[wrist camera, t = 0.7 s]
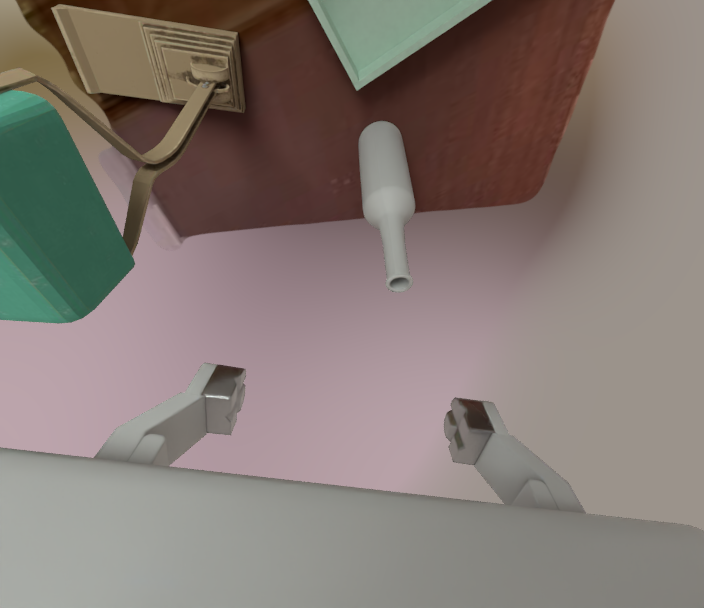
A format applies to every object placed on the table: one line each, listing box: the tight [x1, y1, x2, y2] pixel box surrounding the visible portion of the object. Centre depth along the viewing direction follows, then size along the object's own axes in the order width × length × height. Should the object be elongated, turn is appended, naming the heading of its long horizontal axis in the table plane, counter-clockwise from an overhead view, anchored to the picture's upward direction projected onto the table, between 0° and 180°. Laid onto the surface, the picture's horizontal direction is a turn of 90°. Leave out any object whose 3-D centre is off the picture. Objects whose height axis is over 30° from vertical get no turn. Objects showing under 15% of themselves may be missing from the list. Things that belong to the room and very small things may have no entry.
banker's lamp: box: [0, 4, 246, 323], centre depth 32 cm, size 16×21×35 cm
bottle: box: [358, 121, 415, 292], centre depth 43 cm, size 7×7×28 cm
